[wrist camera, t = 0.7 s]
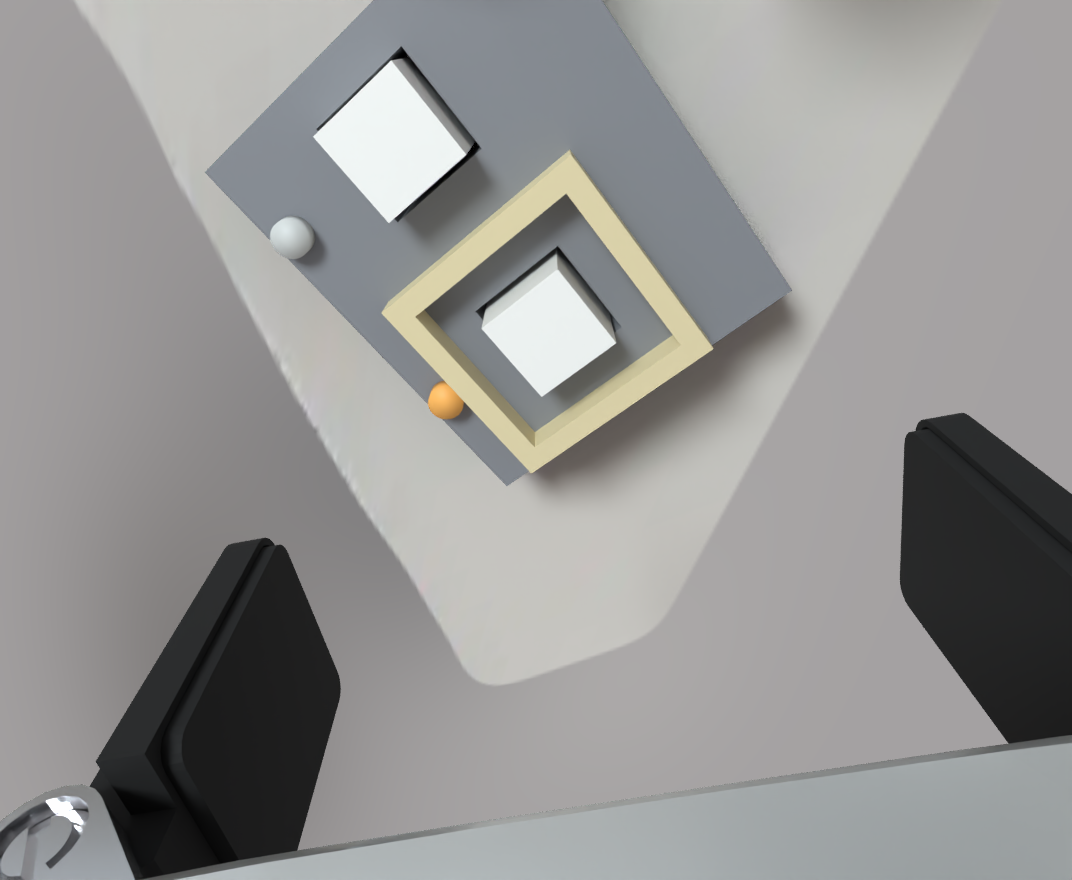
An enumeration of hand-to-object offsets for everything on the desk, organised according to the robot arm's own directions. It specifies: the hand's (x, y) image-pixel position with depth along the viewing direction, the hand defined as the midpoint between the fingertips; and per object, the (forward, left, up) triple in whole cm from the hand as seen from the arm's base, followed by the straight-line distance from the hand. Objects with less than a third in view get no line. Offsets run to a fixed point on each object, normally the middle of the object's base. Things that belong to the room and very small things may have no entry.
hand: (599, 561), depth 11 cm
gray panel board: (+2, -2, -26) cm, 27 cm away
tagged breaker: (+3, +3, -24) cm, 25 cm away
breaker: (+3, -7, -24) cm, 25 cm away
